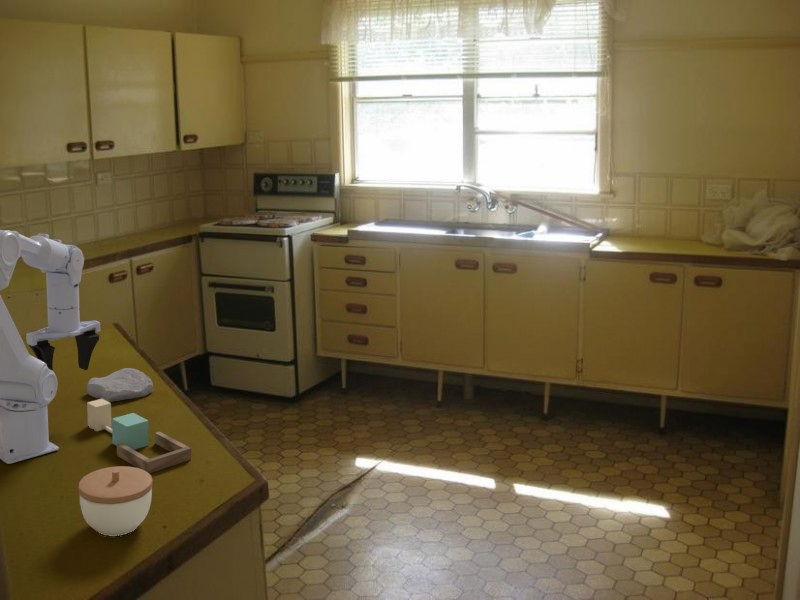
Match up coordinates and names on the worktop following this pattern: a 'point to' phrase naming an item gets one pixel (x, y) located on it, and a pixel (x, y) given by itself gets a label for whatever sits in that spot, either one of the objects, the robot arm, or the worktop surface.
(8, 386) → the robot arm
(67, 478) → the worktop surface
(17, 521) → the worktop surface
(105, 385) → the stone block
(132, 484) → the lidded jar
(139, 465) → the u-shaped wooden frame
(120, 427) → the multicoloured linked piece
